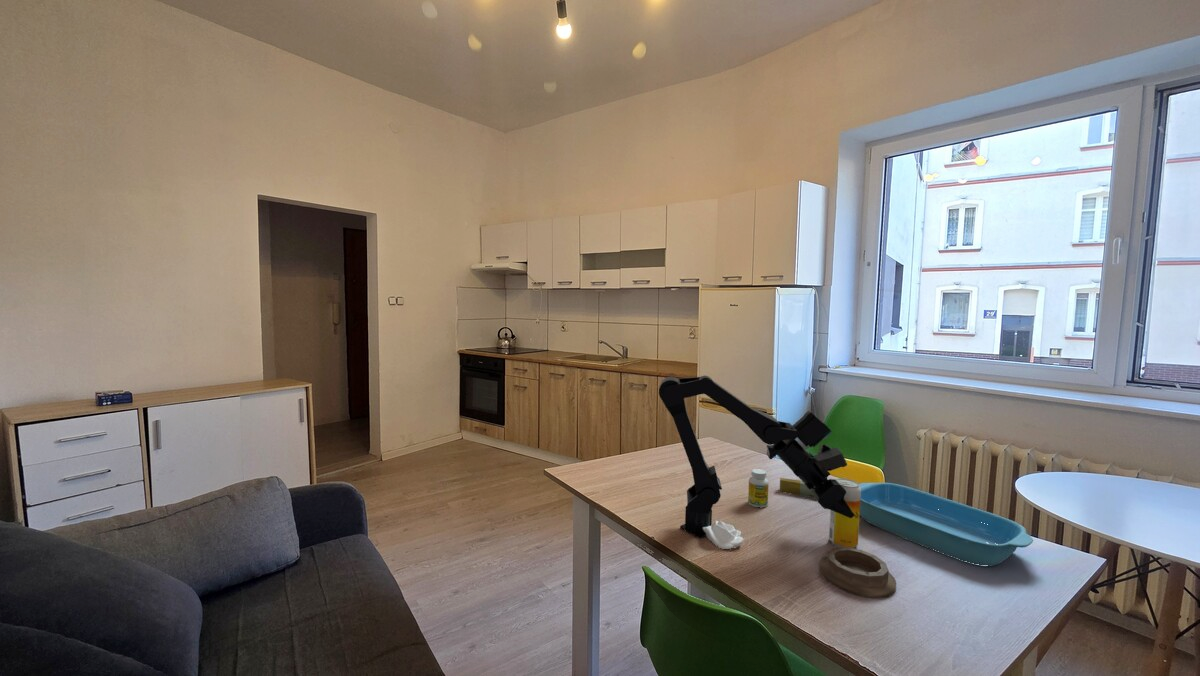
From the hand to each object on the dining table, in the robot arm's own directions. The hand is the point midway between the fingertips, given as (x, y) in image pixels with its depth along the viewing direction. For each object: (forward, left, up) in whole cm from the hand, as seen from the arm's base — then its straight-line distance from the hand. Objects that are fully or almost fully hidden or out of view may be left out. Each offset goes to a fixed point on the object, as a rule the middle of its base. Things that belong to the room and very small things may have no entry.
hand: (845, 508), depth 109 cm
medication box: (+20, +22, -9) cm, 31 cm away
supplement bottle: (+3, +25, -9) cm, 27 cm away
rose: (-22, +18, -9) cm, 30 cm away
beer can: (0, 0, -9) cm, 9 cm away
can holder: (-12, -8, -9) cm, 17 cm away
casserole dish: (+23, -11, -9) cm, 27 cm away
